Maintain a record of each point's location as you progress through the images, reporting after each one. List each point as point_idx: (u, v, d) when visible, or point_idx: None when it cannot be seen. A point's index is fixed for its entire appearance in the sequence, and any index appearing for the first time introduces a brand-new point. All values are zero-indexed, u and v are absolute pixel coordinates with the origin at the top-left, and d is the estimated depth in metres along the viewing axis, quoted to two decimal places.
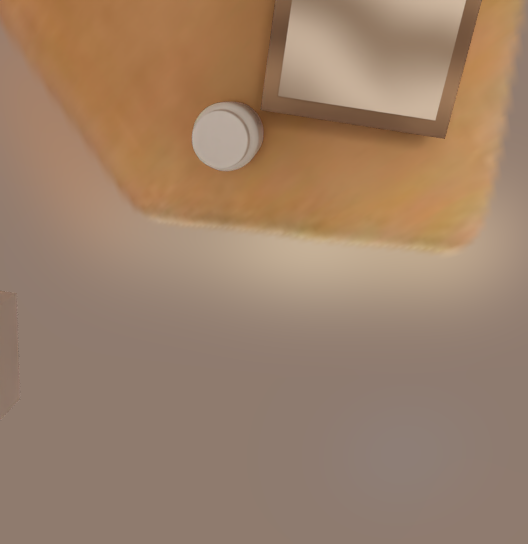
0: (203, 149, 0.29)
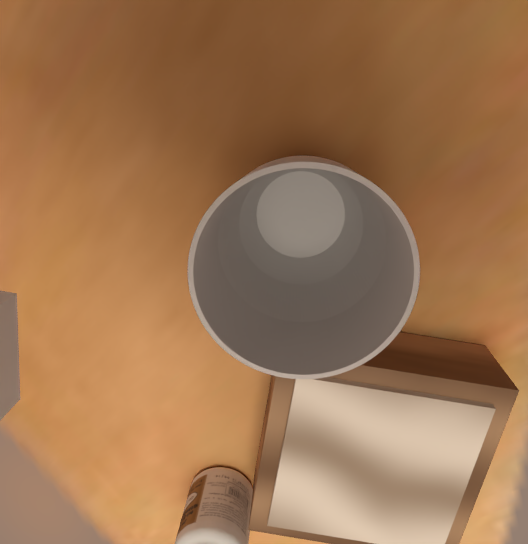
0: None
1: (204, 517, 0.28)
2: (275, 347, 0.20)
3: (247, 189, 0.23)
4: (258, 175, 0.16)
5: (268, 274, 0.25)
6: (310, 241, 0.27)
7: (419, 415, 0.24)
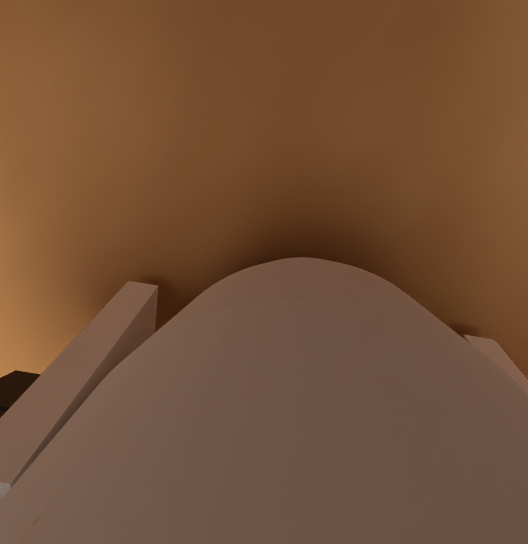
0: None
1: None
2: None
3: None
4: None
5: None
6: None
7: None
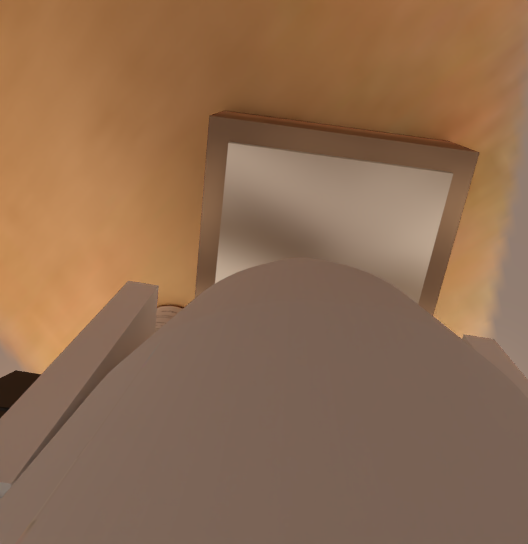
0: None
1: None
2: None
3: None
4: None
5: None
6: None
7: (368, 186, 0.22)
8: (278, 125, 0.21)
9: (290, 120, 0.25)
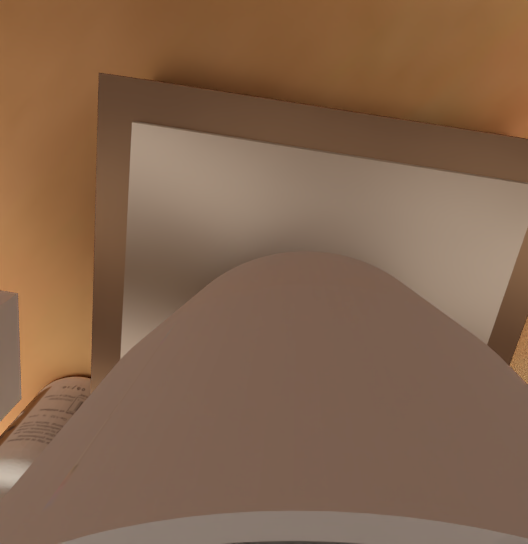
0: None
1: (13, 442, 0.16)
2: None
3: None
4: None
5: None
6: None
7: (384, 207, 0.12)
8: (224, 93, 0.12)
9: None
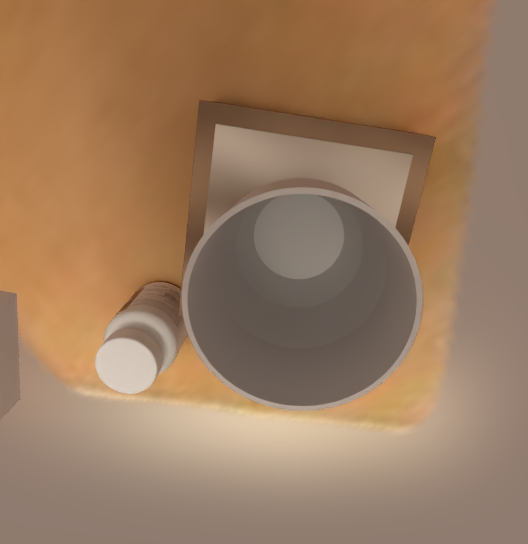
0: (108, 375, 0.26)
1: (135, 305, 0.28)
2: (273, 376, 0.19)
3: (244, 211, 0.22)
4: (255, 201, 0.15)
5: (266, 297, 0.24)
6: (308, 263, 0.26)
7: (338, 165, 0.24)
8: (260, 110, 0.24)
9: None
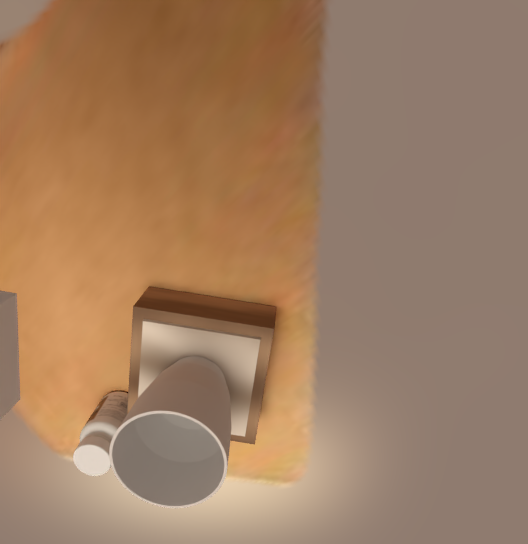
0: (81, 465, 0.43)
1: (99, 416, 0.45)
2: (163, 485, 0.35)
3: None
4: (141, 415, 0.32)
5: (173, 423, 0.41)
6: None
7: (217, 344, 0.41)
8: (169, 311, 0.41)
9: (185, 295, 0.44)
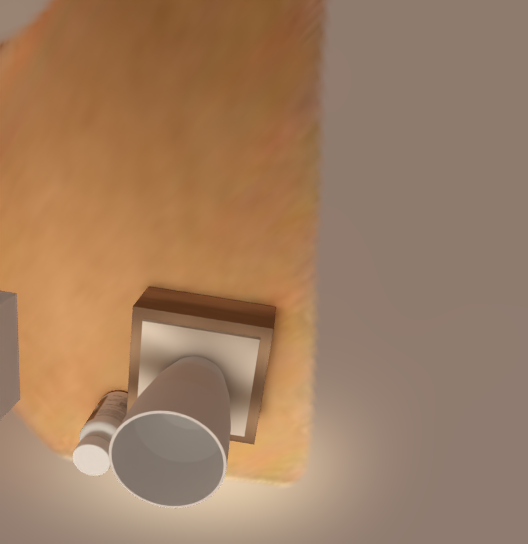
0: (81, 465, 0.43)
1: (99, 416, 0.45)
2: (163, 485, 0.35)
3: None
4: (140, 415, 0.32)
5: (173, 423, 0.41)
6: None
7: (216, 344, 0.41)
8: (169, 311, 0.41)
9: (184, 295, 0.44)
